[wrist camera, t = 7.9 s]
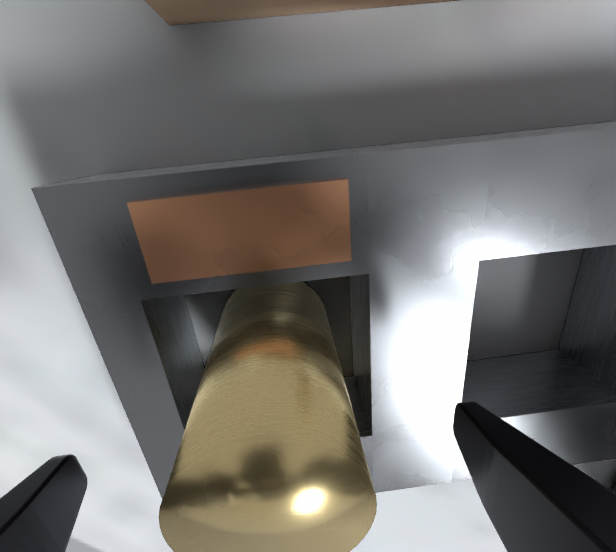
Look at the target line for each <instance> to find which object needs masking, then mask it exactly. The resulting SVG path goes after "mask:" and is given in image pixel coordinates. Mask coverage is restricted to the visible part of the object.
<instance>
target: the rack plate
mask: <svg viewBox="0 0 616 552" xmlns="http://www.w3.org/2000/svg"><path fill="white" fill-rule="evenodd" d="M31 189H32V191H33V194H34V196H35V198H36V201H37V203H38V205H39V208H40V210H41V213H42V215H43V217H44V220H45V222H46V224H47V227H48V229H49V231H50V234H51V236H52V239H53V241H54V243H55V246H56V248H57V250H58V253H59V255H60V258H61V260H62V262H63V265H64V267H65V269H66V272H67V274H68V277H69V279H70V281H71V284H72V286H73V288H74V291H75V293H76V295H77V298H78V300H79V303H80V305H81V307H82V310H83V312H84V314H85V317H86V319H87V322H88V324H89V326H90V329H91V331H92V333H93V336H94V338H95V341H96V343H97V345H98V348H99V350H100V352H101V355H102V357H103V359H104V362H105V364H106V367H107V369H108V371H109V374H110V376H111V378H112V381H113V383H114V386H115V388H116V390H117V393H118V395H119V397H120V400H121V402H122V405H123V407H124V409H125V412H126V414H127V416H128V419H129V421H130V423H131V426H132V428H133V431H134V433H135V435H136V438H137V440H138V442H139V445H140V447H141V450H142V452H143V454H144V457H145V459H146V461H147V464H148V466H149V468H150V471H151V473H152V476H153V478H154V480H155V483H156V485H157V487H158V490H159V492H160V495H161V497H162V499H163V496H164V493H165V490H166V487H167V484H168V481H169V478H170V475H171V472H172V468H173V465H174V462H175V459H176V456H177V453H178V450H179V447H180V444H181V441H182V437H183V434H184V431H185V428H186V425H187V422H188V419H189V416H190V413H191V409H192V406H193V403H194V400H195V397H196V394H197V391H198V388H199V385H200V381H201V378H202V375H203V372H204V365H203V361H202V358H201V354H200V350H199V347H198V343H197V339H196V336H195V332H194V328H193V325H192V321H191V317H190V314H189V310H188V306H187V303H186V299H185V295H191V294H200V293H208V292H217V291H225V290H234V289H242V288H251V287H259V286H268V285H277V284H285V283H294V282H302V281H311V280H319V279H328V278H336V277H345V276H349V282H350V305H351V327H352V349H353V371H354V376H350V377H344V380H345V384H346V388H347V391H348V395H349V399H350V402H351V406H352V410H353V413H354V417H355V421H356V424H357V428H358V432H359V436H360V439H361V443H362V447H363V450H364V454H365V458H366V461H367V465H368V469H369V472H370V476H371V480H372V483H373V487H374V491H375V493H377V492H384V491H391V490H398V489H404V488H411V487H418V486H425V485H432V484H439V483H446V482H453V481H460V480H467V479H472V478H471V475H470V473H469V471H468V468H467V466H466V463H465V461H464V459H463V456H462V454H461V451H460V449H459V447H458V444H457V442H456V439H455V437H454V433H453V420H454V411H455V405H456V404H457V403H459V402H466V401H474V402H477V403H478V404H480V405H481V406H483V407H484V408H486V409H487V410H489V411H490V412H492V413H494V414H495V415H497V416H498V417H500V418H501V419H503V420H504V421H506V422H507V423H509V424H510V425H512V426H513V427H515V428H516V429H518V430H519V431H521V432H522V433H524V434H525V435H527V436H529V437H530V438H532V439H533V440H535V441H536V442H538V443H539V444H541V445H542V446H544V447H545V448H547V449H548V450H550V451H551V452H553V453H554V454H556V455H557V456H559V457H560V458H562V459H564V460H565V461H567V462H568V463H570V464H571V465H572V464H579V463H586V462H592V461H599V460H606V459H613V458H616V121H613V122H603V123H593V124H584V125H574V126H564V127H554V128H545V129H535V130H525V131H515V132H506V133H496V134H486V135H476V136H467V137H457V138H447V139H437V140H428V141H418V142H408V143H398V144H388V145H379V146H369V147H359V148H349V149H340V150H330V151H320V152H310V153H301V154H291V155H281V156H271V157H262V158H252V159H242V160H232V161H223V162H213V163H203V164H193V165H184V166H174V167H164V168H154V169H145V170H135V171H125V172H115V173H106V174H98V175H93V176H88V177H83V178H78V179H74V180H69V181H64V182H59V183H54V184H49V185H44V186H39V187H35V188H31ZM583 248H585V250H584V253H583V257H582V261H581V265H580V269H579V273H578V276H577V280H576V284H575V288H574V292H573V296H572V299H571V303H570V307H569V311H568V315H567V318H566V322H565V326H564V330H563V334H562V338H561V341H560V345H559V349H558V350H551V351H544V352H536V353H528V354H520V355H513V356H505V357H497V358H489V359H482V360H474V361H467V354H468V346H469V338H470V330H471V322H472V314H473V306H474V298H475V290H476V283H477V275H478V267H479V261H481V260H489V259H498V258H506V257H515V256H523V255H532V254H540V253H549V252H557V251H566V250H574V249H583Z"/></svg>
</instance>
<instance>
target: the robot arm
mask: <svg viewBox="0 0 616 552" xmlns="http://www.w3.org/2000/svg"><path fill="white" fill-rule="evenodd" d="M453 433H454V437H455V439H456V442H457V444H458V447H459V449H460V451H461V454H462V456H463V459H464V461H465V463H466V466H467V468H468V471H469V473H470V475H471V478H472V480H473V483H474V485H475V487H476V490H477V492H478V494H479V497H480V499H481V501H482V503H483V506H484V508H485V510H486V512H487V514H488V516H489V518H490V520H491V521H492V523H493V525H494V527H495V529H496V531H497V533H498V535H499V536H500V538H501V540H502V542H503V544H504V546H505V548H506V550H507V552H616V483H615V485H614V487H613V490H612V491H611V490H609V489H608V488H606V487H605V486H603V485H602V484H600V483H599V482H597V481H595V480H594V479H592V478H591V477H589V476H588V475H586V474H585V473H583V472H582V471H580V470H579V469H577V468H576V467H574V466H573V465H571V464H570V463H568V462H567V461H565V460H564V459H562V458H560V457H559V456H557V455H556V454H554V453H553V452H551V451H550V450H548V449H547V448H545V447H544V446H542V445H541V444H539V443H538V442H536V441H535V440H533V439H532V438H530V437H529V436H527V435H525V434H524V433H522V432H521V431H519V430H518V429H516V428H515V427H513V426H512V425H510V424H509V423H507V422H506V421H504V420H503V419H501V418H500V417H498V416H497V415H495V414H494V413H492V412H490V411H489V410H487V409H486V408H484V407H483V406H481V405H480V404H478V403H477V402H474V401H466V402H459V403H457V404H456V405H455V411H454V420H453ZM86 488H87V477H86V475H85V473H84V471H83V469H82V467H81V465H80V463H79V462H78V460H77V458H76V457H75V456H74V455H70V454H69V455H62V456H56V457H53V458H51V459H49V460H48V461H47V462H46V463H44V464H43V465H42V466H41V467H39V468H38V469H37V470H36V471H34V472H33V473H32V474H31V475H29V476H28V477H27V478H26V479H24V480H23V481H22V482H21V483H19V484H18V485H17V486H16V487H14V488H13V489H12V490H11V491H9V492H8V493H7V494H5V495H4V496H3V497H2V498H0V552H65V550H66V548H67V545H68V542H69V539H70V536H71V533H72V530H73V527H74V524H75V521H76V518H77V515H78V512H79V509H80V506H81V503H82V500H83V497H84V494H85V491H86Z"/></svg>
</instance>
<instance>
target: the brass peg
mask: <svg viewBox="0 0 616 552" xmlns="http://www.w3.org/2000/svg"><path fill="white" fill-rule="evenodd" d="M376 507H377V502H376V494H375V491H374V487H373V483H372V480H371V476H370V472H369V469H368V465H367V461H366V458H365V454H364V450H363V447H362V443H361V439H360V436H359V432H358V428H357V424H356V421H355V417H354V413H353V410H352V406H351V402H350V399H349V395H348V391H347V388H346V384H345V380H344V377H343V373H342V369H341V366H340V362H339V358H338V354H337V351H336V347H335V343H334V340H333V336H332V332H331V329H330V325H329V321H328V318H327V314H326V310H325V307H324V304H323V302H322V300H321V299H320V297H319V296H318V294H317V293H316V292H315V291H314V290H313V289H312V288H310V287H309V286H308V285H306V284H305V283H303V282H294V283H285V284H277V285H268V286H259V287H251V288H242V289H236V290H235V291H234V293H233V294H232V295H231V296H230V298H229V299H228V300H227V302H226V305H225V307H224V310H223V313H222V316H221V319H220V322H219V326H218V329H217V332H216V335H215V338H214V341H213V344H212V347H211V350H210V353H209V357H208V360H207V363H206V366H205V369H204V372H203V375H202V378H201V381H200V385H199V388H198V391H197V394H196V397H195V400H194V403H193V406H192V409H191V413H190V416H189V419H188V422H187V425H186V428H185V431H184V434H183V437H182V441H181V444H180V447H179V450H178V453H177V456H176V459H175V462H174V465H173V468H172V472H171V475H170V478H169V481H168V484H167V487H166V490H165V493H164V496H163V500H162V503H161V506H160V511H159V524H160V529H161V532H162V535H163V537H164V539H165V540H166V542H167V544H168V545H169V546H170V547H171V549H172V550H173V551H174V552H350V551H351V550H352V549H353V548H354V547H356V546H357V545H358V544H359V543H360V542H361V540H362V539H363V538H364V537H365V536H366V534H367V533H368V531H369V530H370V528H371V526H372V524H373V522H374V518H375V515H376Z"/></svg>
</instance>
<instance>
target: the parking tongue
mask: <svg viewBox="0 0 616 552" xmlns="http://www.w3.org/2000/svg"><path fill="white" fill-rule="evenodd" d="M145 1H146V2H147V3H148V4H149V5H150V6H151V7H152V8H153V9H154V10H155V11H156V12H157V13H158V14H159V15H160V16H161V17H162V18H163V19H164V20H165V21H166V22H167V23H168V24H169V25H180V24H191V23H203V22H214V21H226V20H238V19H249V18H261V17H272V16H284V15H296V14H307V13H319V12H330V11H342V10H354V9H365V8H377V7H389V6H400V5H412V4H423V3H435V2H447V1H458V0H145Z"/></svg>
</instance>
